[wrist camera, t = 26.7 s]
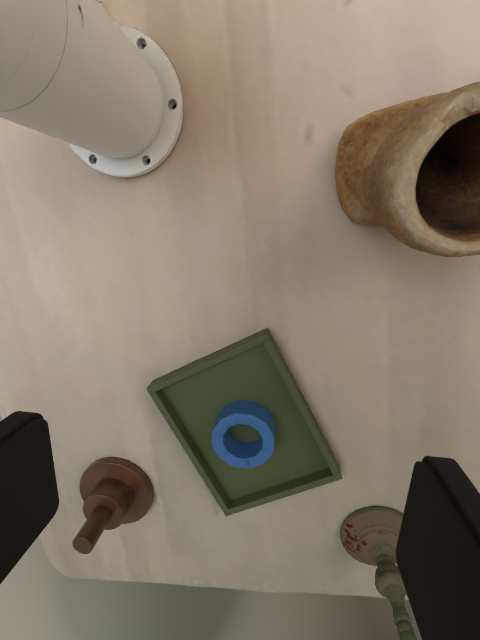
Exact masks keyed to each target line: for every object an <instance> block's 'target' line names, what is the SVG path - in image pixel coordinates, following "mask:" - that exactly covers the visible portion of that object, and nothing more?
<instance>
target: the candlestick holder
mask: <svg viewBox="0 0 480 640" xmlns="http://www.w3.org/2000/svg"><path fill="white" fill-rule="evenodd" d="M402 519H403V514H401V513H399V512H398V511H396V510H393V509H390V508H387V507H377V506H374V507H366V508H363V509H360V510H357V511H356V512H354V513H352V514H351V515H349V517H348V518H347V519H346V520H345V521H344V523H343V525H342V528H341V540H342V544H343V546H344V548H345V549H346V551H347V552H348V553H349V554H350V555H351V556H352V557H353V558H355V559H356V560H358V561H360V562H362V563H365V564H369V565H375V566H378V568H377V569H376V574H375V585H376V589H377V590H378V592H379V593H380V594H381V595H382V596H384V597H386V598H387V599H388V600H389V602H390V604H391V606H392V608H393V615H394V622H395V624H396V625H397V631H398V634H399V636H400V640H417V638H416V636H415V632H414V628H413V626H412V621H411V618H410V617H409V614H408V612H407V610H406V608H405V600H404V597H405V595H406V594H407V593H406V590H405V587H404V584H403V581H402V578H401V575H400V572H399V569H398V567H397V566H396V565H395V563H397V560H396V546H397V541H398V537H399V532H400V528H401V523H402Z"/></svg>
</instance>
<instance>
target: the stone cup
mask: <svg viewBox="0 0 480 640" xmlns="http://www.w3.org/2000/svg"><path fill="white" fill-rule="evenodd" d="M335 176H336V185H337V191H338V195H339V200H340V202H341V205H342V206H343V208H344V209H345V210H346V211H347V213H348V216H349V217H350V219H351V220H353V221H354V222H356V223H360V224H366V225H384V226H385V227H386V228H387V230H388V231H389V232H390V233H391V234H392V235H393V236H394V237H395V238H396V239H398V240H399V241H401V242H402V243H404V244H405V245H407V246H409V247H411V248H414V249H417V250H420V251H423V252H427V253H430V254H434V255H440V256H446V257H461V256H470V255H480V82H477V83H472V84H469V85H466V86H464V87H461V88H458V89H456V90H453V91H451V92H448V93H441V94H436V95H432V96H428V97H423V98H420V99H416V100H412V101H408V102H404V103H401V104H397V105H394V106H391V107H388V108H385V109H382V110H378V111H375V112H373V113H370V114H368V115H365V116H363V117H362V118H360V119H358V120H357V121H355V122H353V123H352V124H350V125H349V126H347V127H346V129H345V130H344V132H343V134H342V137H341V139H340V141H339V145H338V150H337V155H336V168H335Z"/></svg>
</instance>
